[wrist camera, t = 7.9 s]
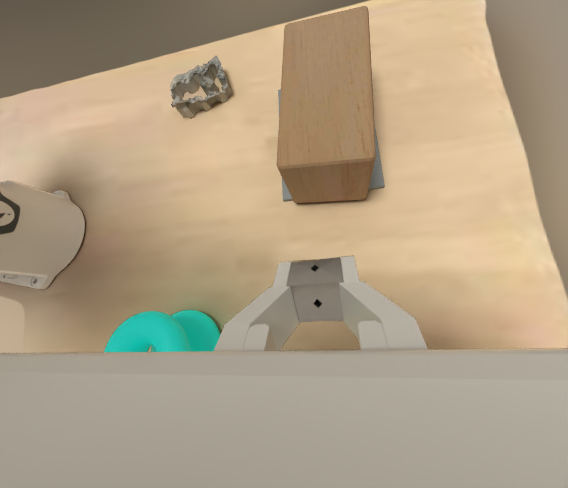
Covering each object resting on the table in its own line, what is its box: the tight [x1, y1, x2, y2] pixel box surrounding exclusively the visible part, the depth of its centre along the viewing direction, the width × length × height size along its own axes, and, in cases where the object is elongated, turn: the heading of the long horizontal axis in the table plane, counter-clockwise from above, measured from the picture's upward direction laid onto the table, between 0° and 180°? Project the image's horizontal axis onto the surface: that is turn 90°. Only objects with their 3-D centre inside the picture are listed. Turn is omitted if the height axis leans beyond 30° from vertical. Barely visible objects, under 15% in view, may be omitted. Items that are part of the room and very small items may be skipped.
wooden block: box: [277, 6, 376, 203], centre depth 31 cm, size 10×10×20 cm
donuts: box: [104, 310, 220, 352], centre depth 29 cm, size 10×10×10 cm
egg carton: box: [170, 56, 232, 119], centre depth 43 cm, size 11×8×4 cm
